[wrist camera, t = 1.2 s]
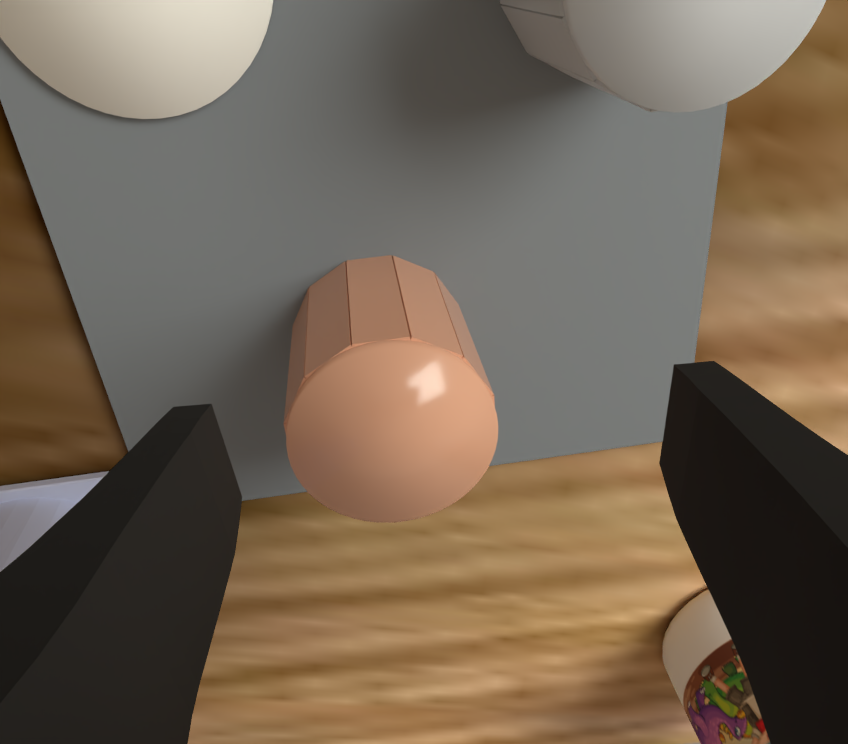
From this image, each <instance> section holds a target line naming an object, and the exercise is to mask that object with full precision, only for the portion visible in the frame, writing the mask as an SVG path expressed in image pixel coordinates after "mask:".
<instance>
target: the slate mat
mask: <svg viewBox="0 0 848 744" xmlns="http://www.w3.org/2000/svg"><path fill="white" fill-rule="evenodd" d="M501 5H502V4H500V0H0V100H1V103H2V106H3V109H4V111H5V114H6V117H7V120H8V122H9V125H10V128H11V130H12V133H13V136H14V139H15V141H16V144H17V147H18V150H19V152H20V155H21V158H22V161H23V163H24V166H25V169H26V172H27V174H28V177H29V180H30V183H31V185H32V188H33V191H34V194H35V196H36V199H37V202H38V205H39V207H40V210H41V213H42V216H43V218H44V221H45V224H46V227H47V229H48V232H49V235H50V238H51V240H52V243H53V246H54V249H55V251H56V254H57V257H58V260H59V262H60V265H61V268H62V271H63V273H64V276H65V279H66V282H67V284H68V287H69V290H70V293H71V295H72V298H73V301H74V304H75V306H76V309H77V312H78V315H79V317H80V320H81V323H82V326H83V328H84V331H85V334H86V337H87V339H88V342H89V345H90V348H91V350H92V353H93V356H94V359H95V361H96V364H97V367H98V369H99V372H100V375H101V378H102V380H103V383H104V386H105V389H106V391H107V394H108V397H109V400H110V402H111V405H112V408H113V411H114V413H115V416H116V419H117V422H118V424H119V427H120V430H121V433H122V435H123V438H124V441H125V444H126V446H127V449H128V452H129V451H130V450H131V449H132V448H133V447H134V446H135V445H136V444H137V443H138V442H139V441H140V440H141V439H142V437H143V436H144V435H145V434H146V433H147V432H148V431H149V430H150V429H151V428H152V427H153V426H154V425H155V424H156V423H157V422H158V421H159V420H160V419H161V418H162V417H163V416H164V415H165V414H166V413H167V412H168V411H170V410H171V409H172V408H173V407H177V406H189V405H201V404H212V406H213V410H214V413H215V416H216V419H217V422H218V425H219V428H220V431H221V434H222V437H223V440H224V443H225V446H226V449H227V452H228V455H229V458H230V461H231V464H232V467H233V470H234V473H235V476H236V480H237V483H238V486H239V489H240V492H241V495H242V501H244V500H251V499H258V498H265V497H273V496H280V495H287V494H294V493H301V492H307V491H306V489H305V488H304V487H303V486H302V485H301V483H300V482H299V480H298V479H297V477H296V476H295V474H294V472H293V469H292V467H291V465H290V461H289V458H288V454H287V446H286V433H285V428H284V414H285V404H286V393H287V382H288V371H289V360H290V350H291V339H292V328H293V324H294V321H295V319H296V316H297V314H298V312H299V309H300V307H301V304H302V302H303V300H304V297H305V295H306V292H307V290H308V288H309V287H310V286H311V285H312V284H314V283H315V282H317V281H318V280H319V279H321V278H322V277H324V276H325V275H326V274H328V273H329V272H330V271H332V270H333V269H335V268H336V267H337V266H339V265H340V264H342V263H343V262H344V261H345V262H346V260H355V259H363V258H371V257H379V256H388V255H392V256H393V255H394V256H396V257H399V258H401V259H404V260H406V261H408V262H411V263H413V264H416V265H418V266H421V267H423V268H426V269H428V270H431V271H433V272H435V274H436V275H437V276H438V278H439V279H440V280H441V282H442V283H443V284H444V286H445V287H446V288H447V290H448V291H449V292H450V294H451V295H452V296H453V298H454V299H455V300H456V302H457V303H458V304H459V307H460V309H461V312H462V315H463V317H464V320H465V322H466V325H467V327H468V330H469V332H470V335H471V337H472V340H473V343H474V345H475V348H476V350H477V353H478V355H479V358H480V360H481V363H482V365H483V368H484V371H485V373H486V376H487V378H488V381H489V383H490V386H491V388H492V391H493V394H494V400H495V410H496V413H497V419H498V440H497V445H496V450H495V453H494V455H493V458H492V461H491V463H490V465H489V466H492V465H499V464H507V463H514V462H521V461H528V460H535V459H542V458H549V457H556V456H563V455H570V454H577V453H584V452H592V451H599V450H606V449H613V448H620V447H627V446H634V445H641V444H648V443H655V442H662V441H663V436H664V429H665V422H666V415H667V408H668V401H669V394H670V387H671V381H672V374H673V367H674V364H686V363H694V360H695V352H696V344H697V336H698V329H699V321H700V313H701V305H702V297H703V290H704V282H705V274H706V266H707V258H708V251H709V243H710V235H711V227H712V219H713V212H714V204H715V196H716V188H717V180H718V172H719V165H720V157H721V149H722V141H723V133H724V126H725V118H726V110H727V102H726V103H724V104H721V105H718V106H715V107H711V108H708V109H703V110H698V111H692V112H666V111H655V112H650V111H646V110H644V109H642V108H640V107H638V106H635V105H633V104H631V103H629V102H626V101H624V100H622V99H620V98H618V97H615V96H613V95H611V94H609V93H606V92H604V91H602V90H600V89H597V88H595V87H593V86H591V85H589V84H586V83H584V82H582V81H580V80H577V79H575V78H573V77H571V76H569V75H567V74H565V73H563V72H561V71H559V70H558V69H556V68H554V67H552V66H550V65H548V64H546V63H544V62H543V61H541V60H539V59H537V58H535V57H533V56H531V55H529V54H528V53H527V52H526V50H525V48H524V47H523V45H522V43H521V41H520V39H519V38H518V36H517V34H516V32H515V30H514V29H513V27H512V25H511V23H510V21H509V20H508V18H507V16H506V14H505V13H504V11H503V9H502V7H501Z"/></svg>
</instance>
